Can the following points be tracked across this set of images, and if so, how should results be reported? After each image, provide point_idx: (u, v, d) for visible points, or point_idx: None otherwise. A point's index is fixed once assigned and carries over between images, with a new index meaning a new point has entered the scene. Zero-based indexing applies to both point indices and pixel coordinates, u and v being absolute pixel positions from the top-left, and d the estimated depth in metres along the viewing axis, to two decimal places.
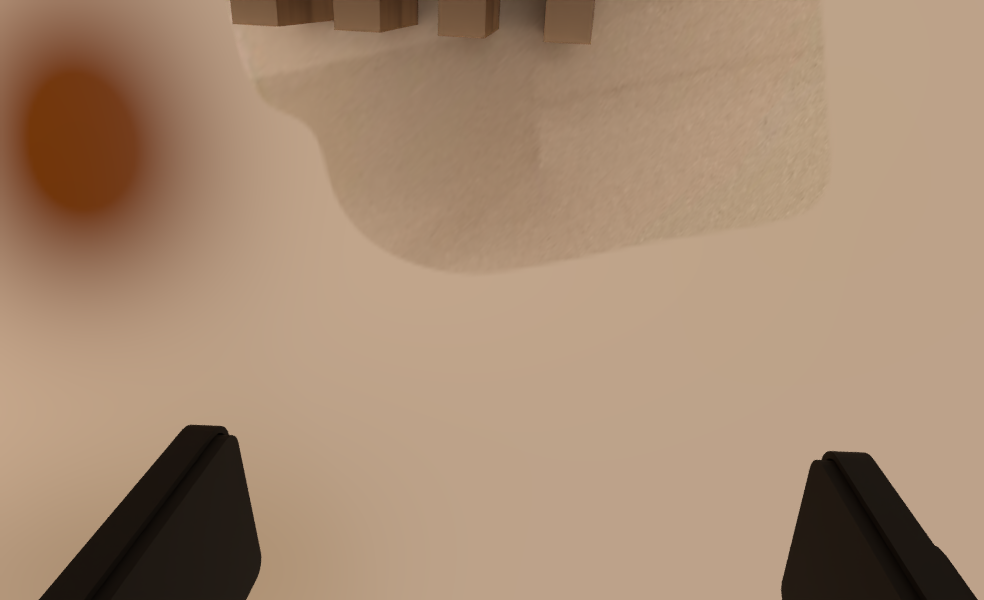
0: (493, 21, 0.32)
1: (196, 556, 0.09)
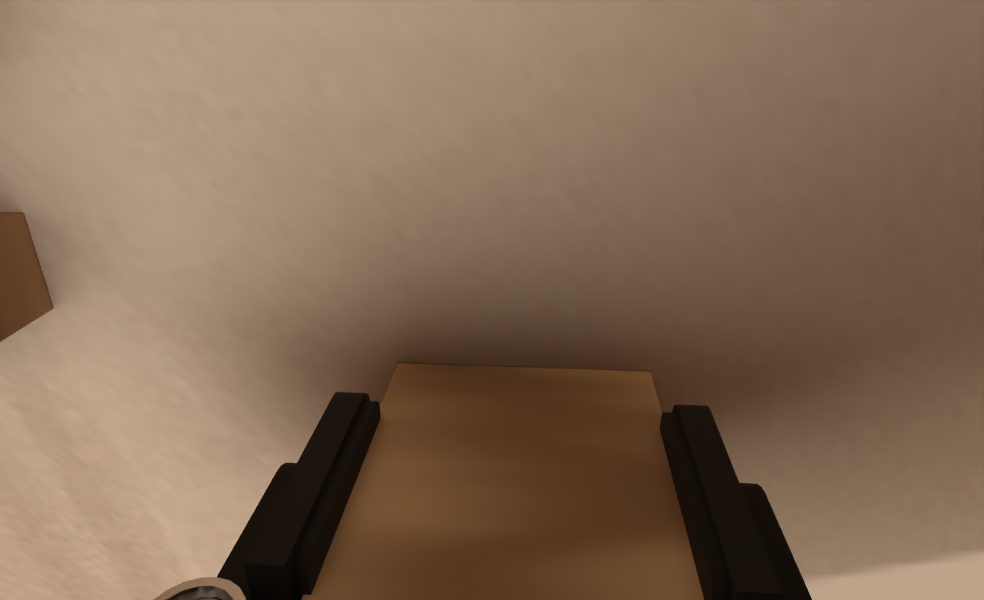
0: None
1: None
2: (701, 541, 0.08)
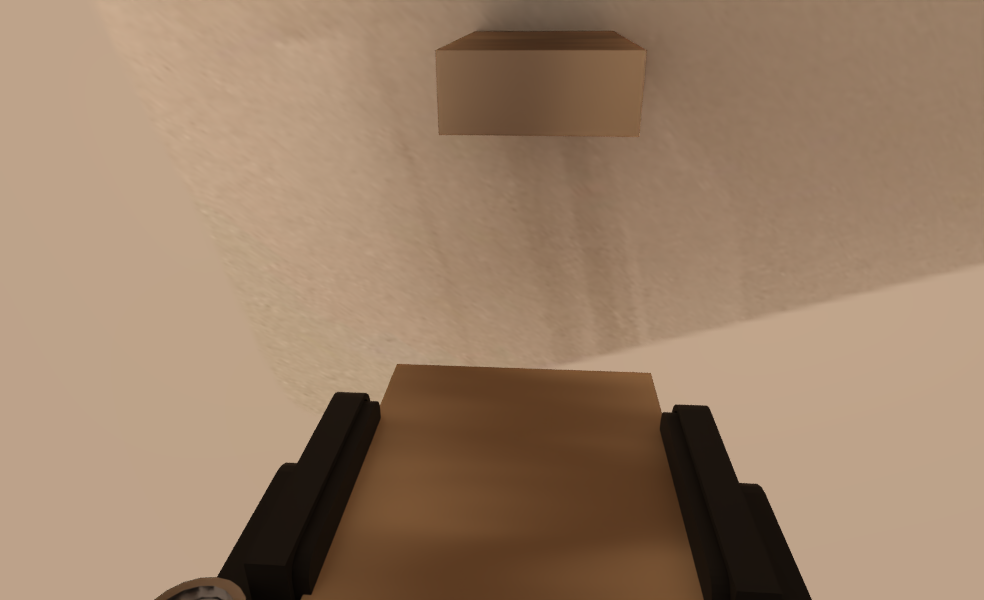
0: None
1: None
2: (701, 541, 0.08)
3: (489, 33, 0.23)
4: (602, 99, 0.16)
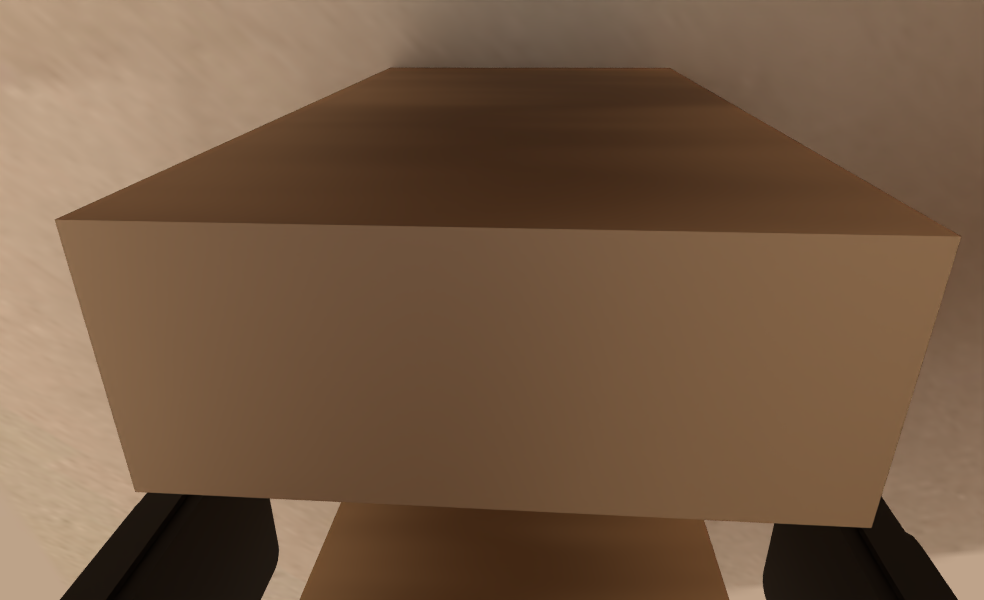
0: None
1: (219, 546, 0.09)
2: None
3: (411, 76, 0.11)
4: (742, 407, 0.04)
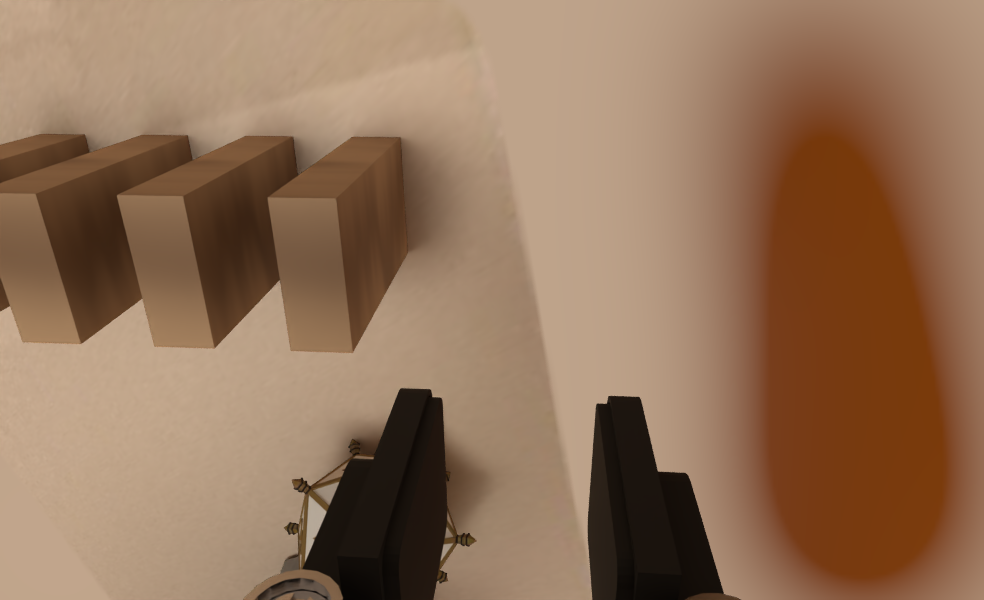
0: None
1: (429, 504, 0.10)
2: (613, 526, 0.08)
3: (67, 157, 0.27)
4: None
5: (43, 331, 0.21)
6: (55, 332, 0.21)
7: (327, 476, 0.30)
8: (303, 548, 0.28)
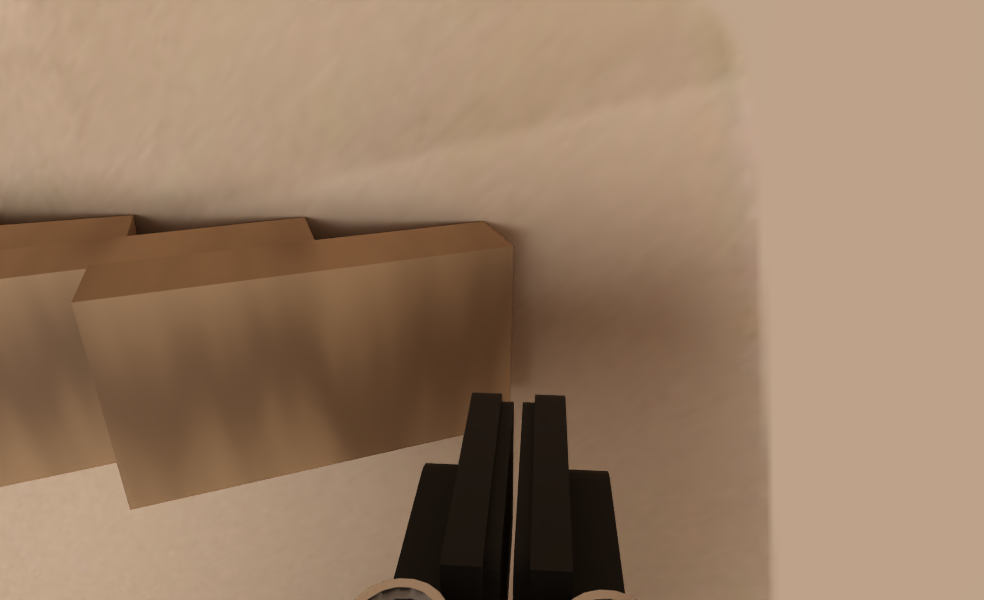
0: None
1: (508, 509, 0.10)
2: (516, 523, 0.09)
3: None
4: None
5: None
6: None
7: None
8: None
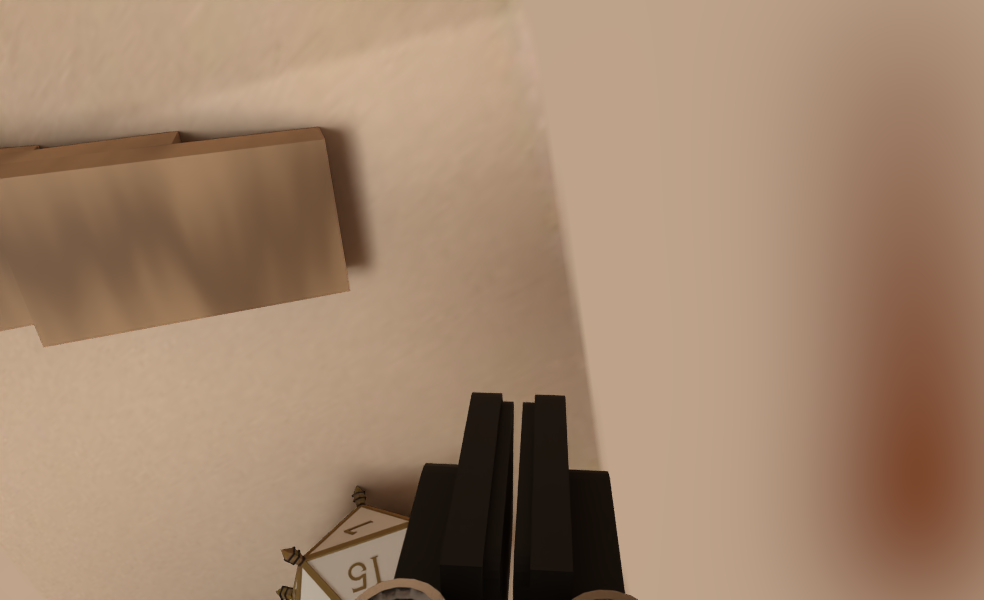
0: None
1: (508, 509, 0.10)
2: (516, 523, 0.08)
3: None
4: None
5: None
6: None
7: (325, 539, 0.25)
8: None
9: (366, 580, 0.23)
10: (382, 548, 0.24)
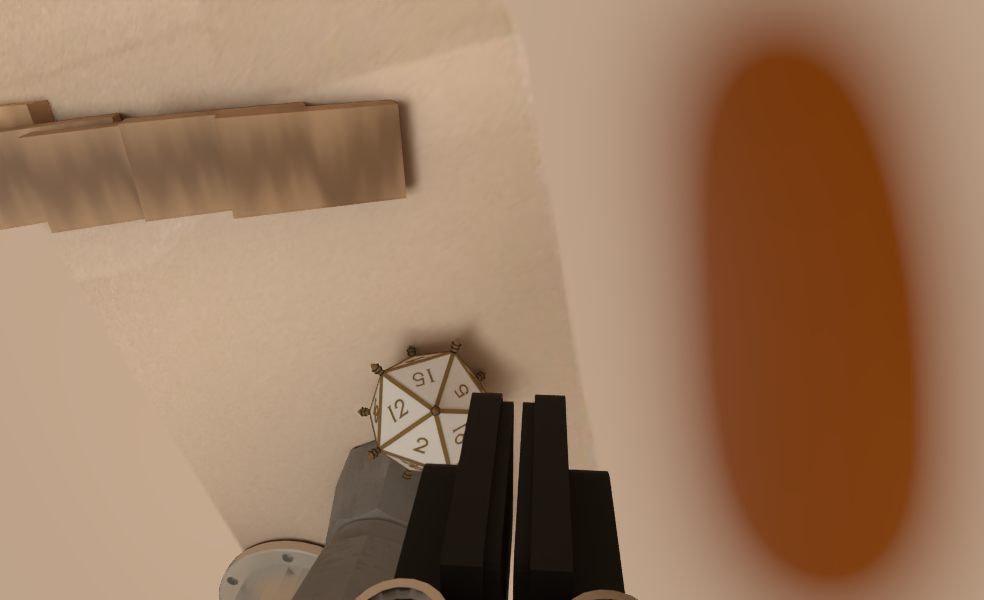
0: None
1: (508, 509, 0.10)
2: (516, 523, 0.09)
3: None
4: None
5: None
6: None
7: (394, 366, 0.39)
8: (379, 415, 0.37)
9: (424, 381, 0.37)
10: (433, 365, 0.38)
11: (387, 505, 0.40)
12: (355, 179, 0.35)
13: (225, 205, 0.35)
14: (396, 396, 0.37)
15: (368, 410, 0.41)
